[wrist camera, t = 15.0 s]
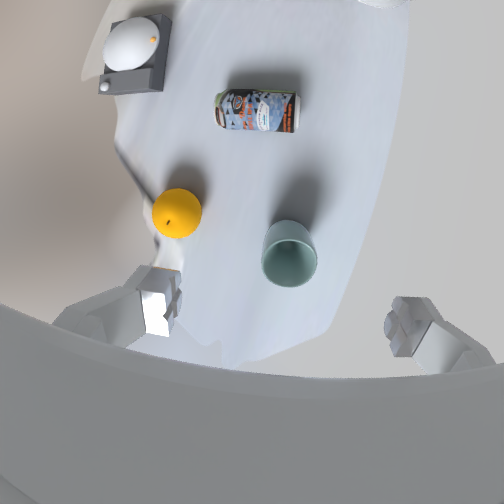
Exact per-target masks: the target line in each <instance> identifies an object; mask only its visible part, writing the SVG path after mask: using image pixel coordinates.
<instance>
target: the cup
mask: <svg viewBox="0 0 504 504" xmlns="http://www.w3.org/2000/svg"><path fill="white" fill-rule="evenodd" d="M261 266H262V271H263V274H264V275H265V277H266V278H267V279H268V280H269V281H270V282H272V283H273V284H275V285H278V286H282V287H298V286H301V285H303V284H305V283H306V282H308V281H309V280H310V279H311V278H312V276H313V274H314V273H315V270H316V267H317V254H316V249H315V246H314V243H313V240H312V237H311V235H310V233H309V232H308V230H307V229H306V228H305V227H304V226H303V225H302V224H300V223H298V222H296V221H292V220H281V221H278V222H276V223H274V224H273V225H272V226H271V227H270V228H269V230H268V231H267V233H266V235H265V239H264V242H263V248H262V257H261Z"/></svg>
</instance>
